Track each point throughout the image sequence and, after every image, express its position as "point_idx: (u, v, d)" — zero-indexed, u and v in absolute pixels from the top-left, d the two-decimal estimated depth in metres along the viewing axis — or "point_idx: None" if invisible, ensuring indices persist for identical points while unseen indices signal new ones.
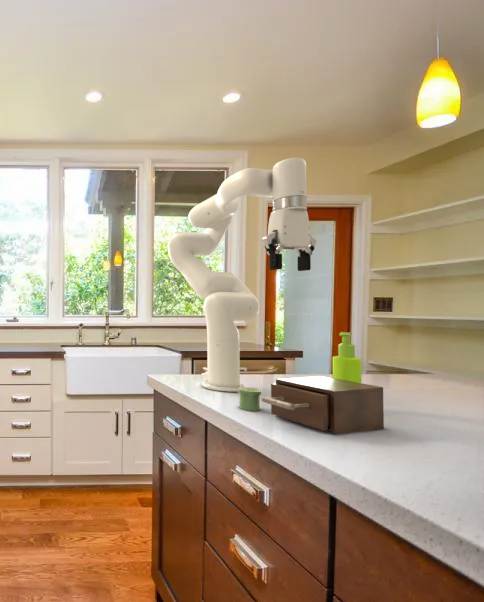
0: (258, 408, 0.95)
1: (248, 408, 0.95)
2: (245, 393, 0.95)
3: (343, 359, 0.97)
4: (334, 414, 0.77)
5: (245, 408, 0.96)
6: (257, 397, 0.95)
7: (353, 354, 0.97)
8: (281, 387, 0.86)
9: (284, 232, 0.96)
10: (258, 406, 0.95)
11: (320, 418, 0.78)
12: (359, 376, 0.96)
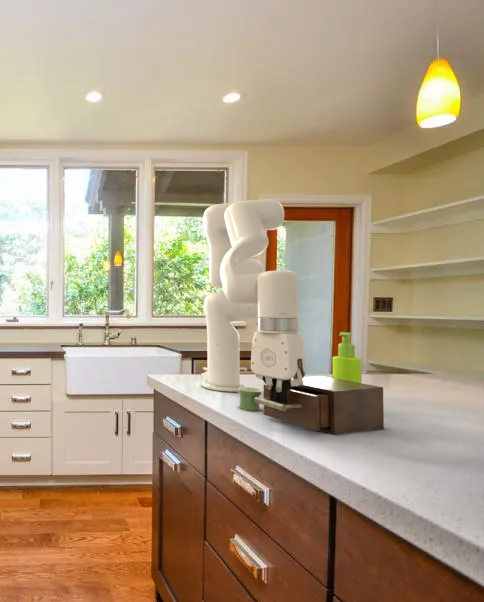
0: (258, 408, 0.95)
1: (248, 408, 0.95)
2: (245, 393, 0.95)
3: (343, 359, 0.97)
4: (334, 414, 0.77)
5: (245, 408, 0.96)
6: None
7: (353, 354, 0.97)
8: None
9: None
10: (258, 406, 0.95)
11: (312, 419, 0.77)
12: (359, 376, 0.96)
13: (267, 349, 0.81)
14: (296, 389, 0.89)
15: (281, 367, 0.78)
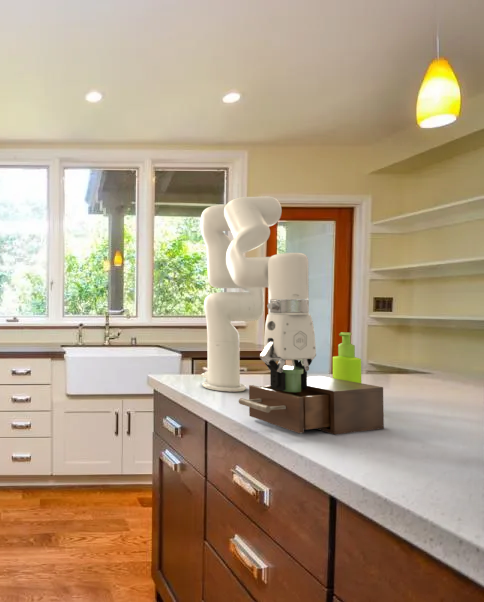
0: (300, 389, 0.81)
1: (288, 389, 0.81)
2: (284, 371, 0.81)
3: (343, 359, 0.97)
4: (334, 414, 0.77)
5: None
6: (299, 376, 0.81)
7: (353, 354, 0.97)
8: (259, 389, 0.85)
9: None
10: (300, 387, 0.81)
11: (296, 421, 0.76)
12: (359, 376, 0.96)
13: (299, 331, 0.80)
14: None
15: (310, 347, 0.81)
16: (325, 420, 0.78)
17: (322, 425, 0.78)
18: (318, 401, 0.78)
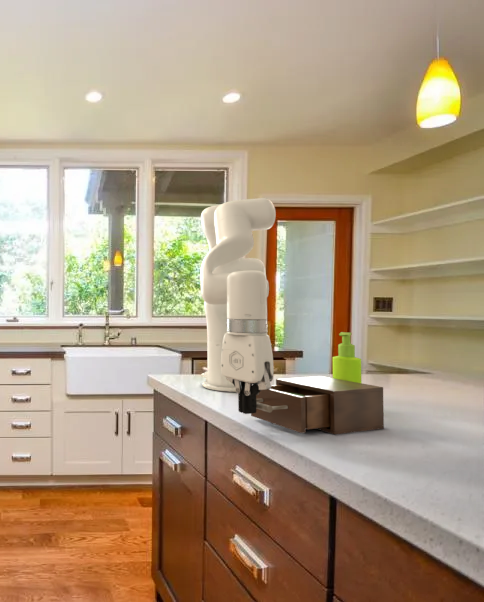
0: None
1: None
2: None
3: (343, 359, 0.97)
4: (334, 414, 0.77)
5: None
6: None
7: (353, 354, 0.97)
8: None
9: None
10: None
11: (298, 420, 0.76)
12: (359, 376, 0.96)
13: (235, 351, 0.79)
14: (284, 390, 0.88)
15: (248, 370, 0.76)
16: (327, 420, 0.78)
17: (324, 425, 0.78)
18: (319, 401, 0.78)
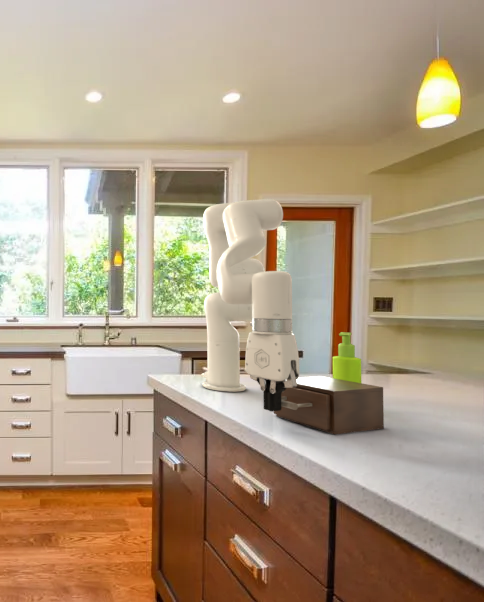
0: None
1: None
2: None
3: (343, 359, 0.97)
4: (334, 414, 0.77)
5: None
6: None
7: (353, 354, 0.97)
8: None
9: None
10: None
11: (323, 418, 0.78)
12: (359, 376, 0.96)
13: (261, 350, 0.81)
14: None
15: (275, 368, 0.78)
16: None
17: None
18: None
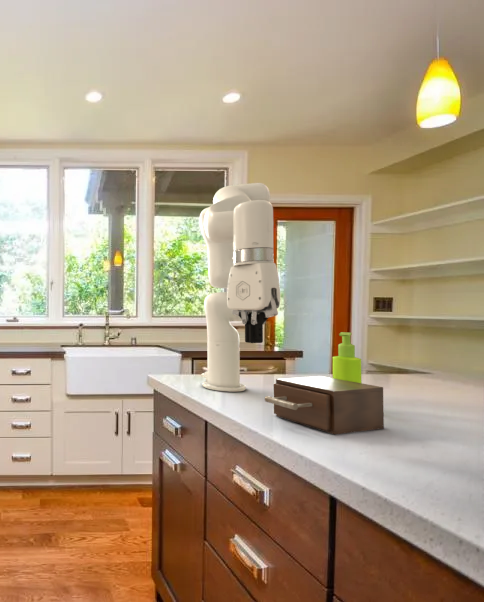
0: None
1: None
2: None
3: (343, 359, 0.97)
4: (334, 414, 0.77)
5: None
6: None
7: (353, 354, 0.97)
8: (284, 387, 0.87)
9: None
10: None
11: (323, 418, 0.78)
12: (359, 376, 0.96)
13: (242, 282, 0.80)
14: None
15: (255, 297, 0.77)
16: None
17: None
18: None
